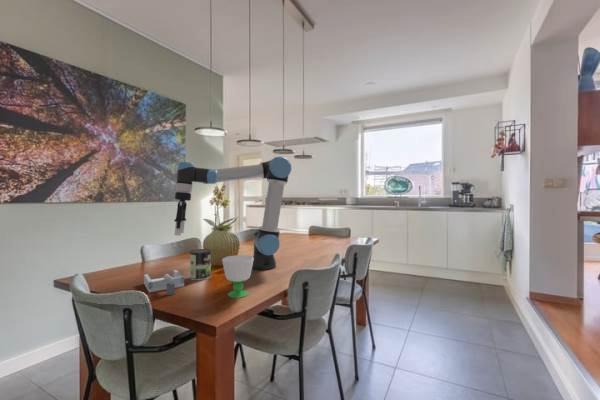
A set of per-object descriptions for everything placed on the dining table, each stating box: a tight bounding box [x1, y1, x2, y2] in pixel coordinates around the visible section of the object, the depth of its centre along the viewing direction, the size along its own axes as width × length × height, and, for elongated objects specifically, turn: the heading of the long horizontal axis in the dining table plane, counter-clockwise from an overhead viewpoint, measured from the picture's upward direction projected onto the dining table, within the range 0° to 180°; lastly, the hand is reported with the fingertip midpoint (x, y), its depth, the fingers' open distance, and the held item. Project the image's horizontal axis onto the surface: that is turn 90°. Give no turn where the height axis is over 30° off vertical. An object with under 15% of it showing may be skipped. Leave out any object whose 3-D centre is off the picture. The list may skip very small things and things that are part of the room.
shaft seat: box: [143, 269, 185, 296], centre depth 138 cm, size 24×15×7 cm, turn 35°
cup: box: [221, 254, 254, 299], centre depth 129 cm, size 14×14×16 cm
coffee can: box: [189, 248, 212, 281], centre depth 154 cm, size 10×10×14 cm
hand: (179, 234), depth 149 cm, fingers open, 13 cm apart
